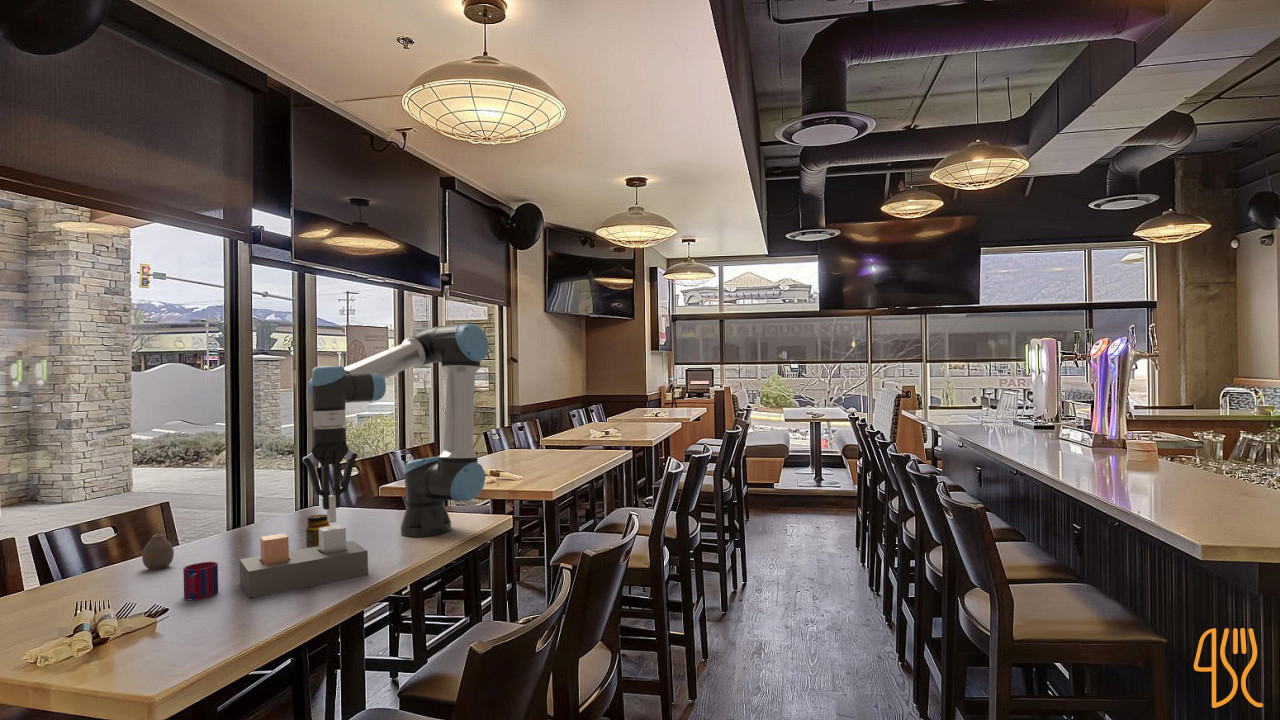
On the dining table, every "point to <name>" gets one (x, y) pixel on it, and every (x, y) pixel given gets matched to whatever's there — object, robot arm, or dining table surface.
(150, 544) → the vase
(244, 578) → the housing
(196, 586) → the mug
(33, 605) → the dining table surface
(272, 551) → the tan rectangular block
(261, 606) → the dining table surface
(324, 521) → the condiment
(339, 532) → the white block
